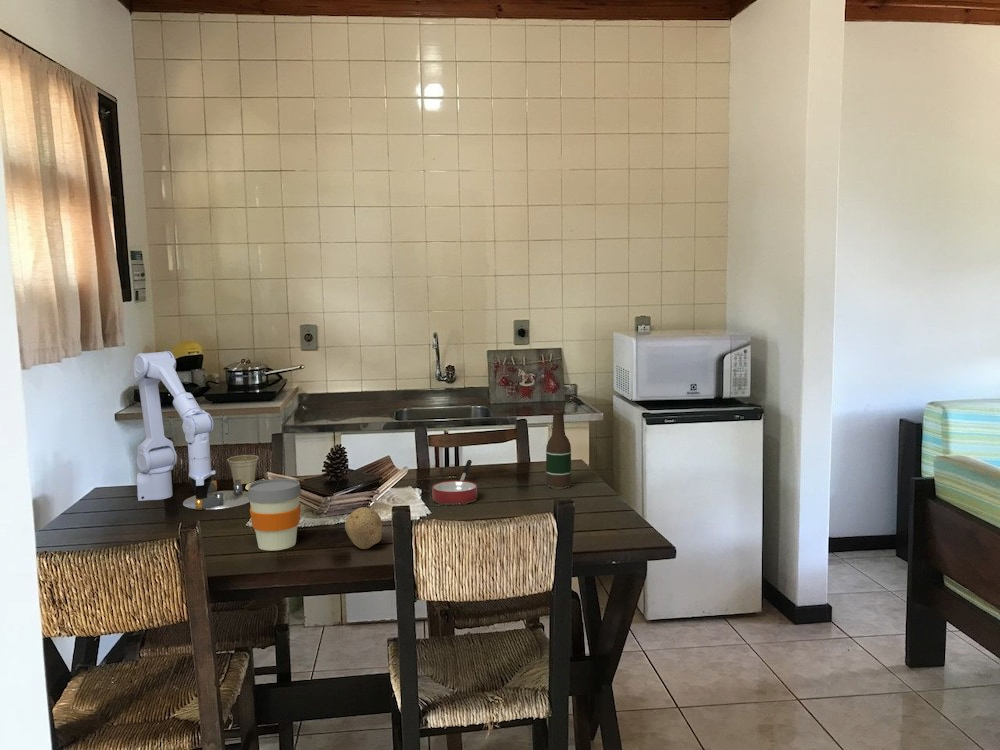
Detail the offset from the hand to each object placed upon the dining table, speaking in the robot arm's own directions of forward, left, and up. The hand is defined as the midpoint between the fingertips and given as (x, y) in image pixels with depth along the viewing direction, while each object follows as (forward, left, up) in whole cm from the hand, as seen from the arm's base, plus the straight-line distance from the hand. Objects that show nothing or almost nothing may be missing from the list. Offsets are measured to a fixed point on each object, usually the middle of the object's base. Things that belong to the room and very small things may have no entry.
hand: (202, 504), depth 233 cm
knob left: (+1, +14, 0) cm, 15 cm away
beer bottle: (+103, -10, -2) cm, 104 cm away
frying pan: (+73, -4, -2) cm, 73 cm away
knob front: (+2, -1, 0) cm, 2 cm away
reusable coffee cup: (+19, -37, -2) cm, 42 cm away
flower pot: (+12, +27, -2) cm, 29 cm away
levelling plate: (+5, +7, -2) cm, 8 cm away
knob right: (+10, +13, -1) cm, 16 cm away
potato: (+39, -47, -2) cm, 61 cm away
